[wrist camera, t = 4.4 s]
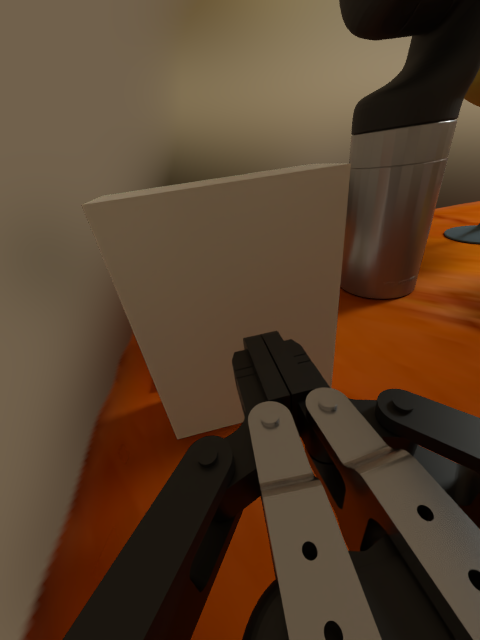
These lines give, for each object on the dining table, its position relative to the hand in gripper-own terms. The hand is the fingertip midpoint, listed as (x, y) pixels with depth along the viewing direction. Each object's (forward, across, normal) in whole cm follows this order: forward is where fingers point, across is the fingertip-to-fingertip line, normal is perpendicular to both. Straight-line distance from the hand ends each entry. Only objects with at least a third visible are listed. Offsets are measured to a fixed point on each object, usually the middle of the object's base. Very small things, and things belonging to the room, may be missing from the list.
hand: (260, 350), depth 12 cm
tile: (+6, 0, +10) cm, 11 cm away
